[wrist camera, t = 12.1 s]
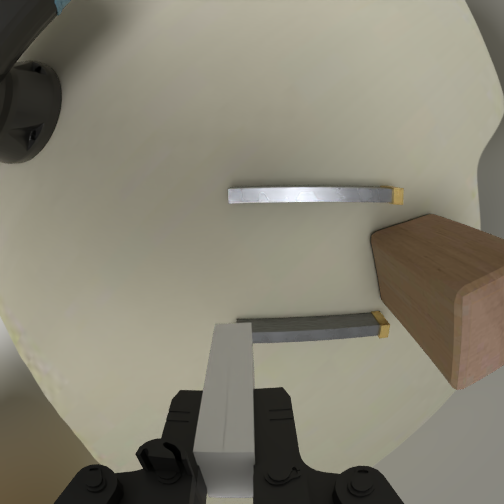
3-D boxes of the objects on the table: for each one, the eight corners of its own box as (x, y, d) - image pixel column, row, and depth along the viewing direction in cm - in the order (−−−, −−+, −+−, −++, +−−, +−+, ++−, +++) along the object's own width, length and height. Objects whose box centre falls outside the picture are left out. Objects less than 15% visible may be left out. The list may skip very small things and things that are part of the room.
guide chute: (230, 185, 35) (227, 187, 31) (389, 185, 34) (403, 188, 31) (237, 330, 40) (235, 346, 36) (377, 322, 39) (387, 337, 35)
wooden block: (432, 210, 35) (544, 251, 16) (440, 279, 38) (532, 349, 18) (366, 231, 36) (461, 295, 17) (379, 302, 38) (454, 398, 19)
